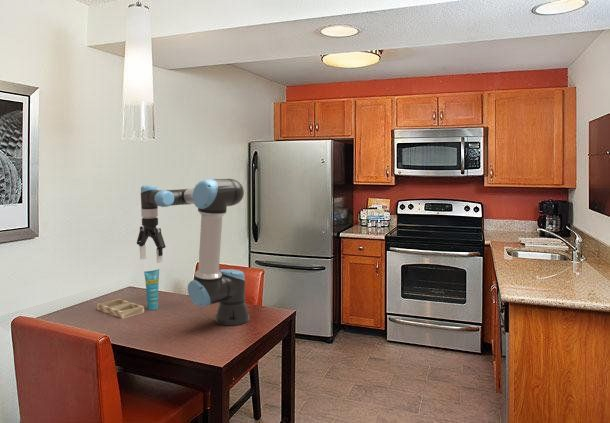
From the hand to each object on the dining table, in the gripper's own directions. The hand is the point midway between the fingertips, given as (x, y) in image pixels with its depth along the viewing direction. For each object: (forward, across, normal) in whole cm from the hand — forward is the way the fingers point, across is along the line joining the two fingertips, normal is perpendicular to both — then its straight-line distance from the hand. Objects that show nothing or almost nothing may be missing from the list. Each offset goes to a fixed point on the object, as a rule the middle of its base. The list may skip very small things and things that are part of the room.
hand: (151, 260), depth 228 cm
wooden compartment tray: (+24, +9, +12) cm, 28 cm away
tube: (+24, 0, 0) cm, 24 cm away
